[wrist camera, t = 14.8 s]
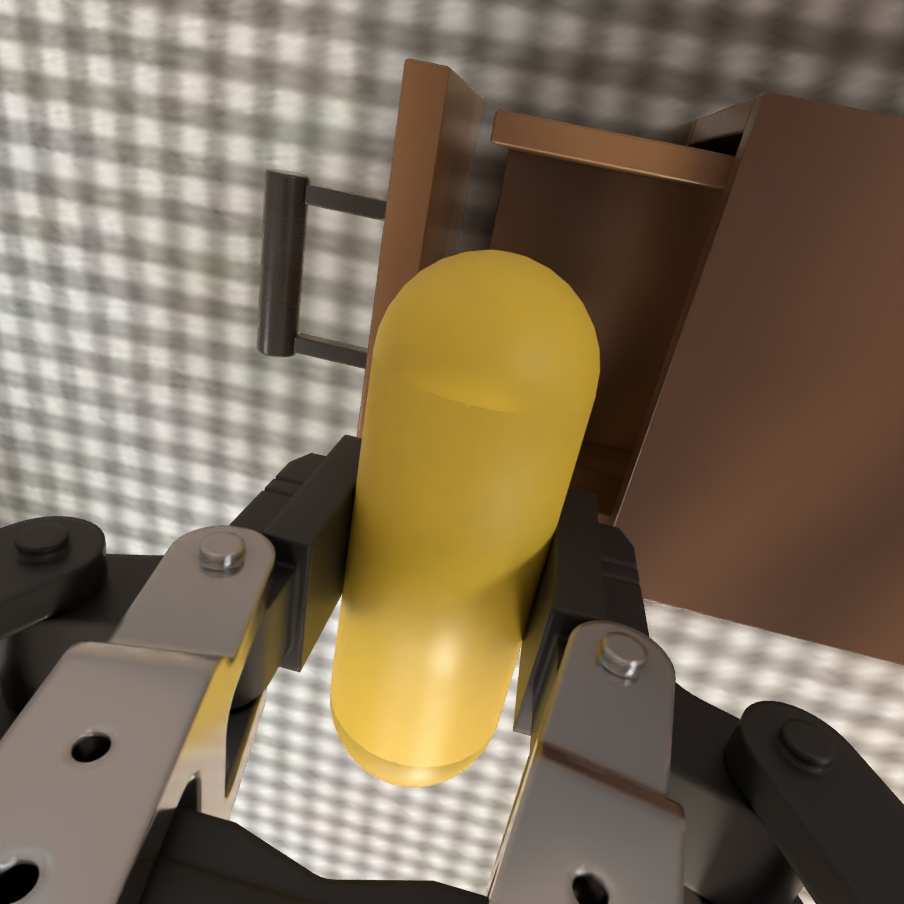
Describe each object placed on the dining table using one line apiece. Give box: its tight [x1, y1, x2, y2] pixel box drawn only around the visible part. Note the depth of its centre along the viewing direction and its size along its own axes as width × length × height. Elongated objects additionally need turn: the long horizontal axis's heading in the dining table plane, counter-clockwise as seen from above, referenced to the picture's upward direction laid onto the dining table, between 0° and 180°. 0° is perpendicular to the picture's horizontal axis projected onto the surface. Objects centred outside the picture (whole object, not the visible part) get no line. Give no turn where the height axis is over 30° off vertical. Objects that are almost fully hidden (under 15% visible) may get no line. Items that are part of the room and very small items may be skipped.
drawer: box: [257, 59, 735, 525], centre depth 21 cm, size 19×13×7 cm
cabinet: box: [608, 92, 904, 665], centre depth 21 cm, size 16×14×9 cm
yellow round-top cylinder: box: [330, 250, 600, 787], centre depth 10 cm, size 10×3×3 cm, turn 170°
